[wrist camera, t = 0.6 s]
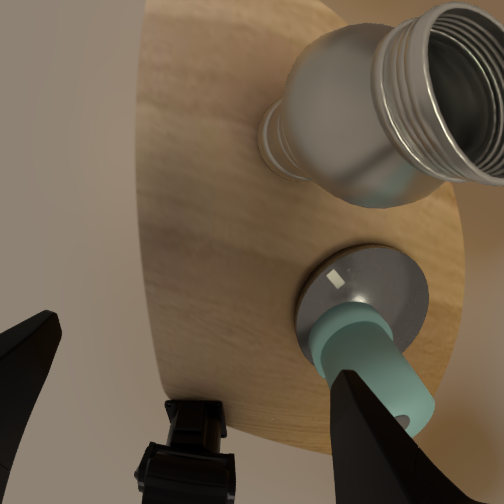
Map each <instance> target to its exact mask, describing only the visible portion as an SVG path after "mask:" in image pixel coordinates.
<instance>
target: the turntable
mask: <svg viewBox="0 0 504 504" xmlns="http://www.w3.org/2000/svg"><path fill="white" fill-rule="evenodd" d="M351 301H358V302H364V303H367V304H369V305H371V306H372V307H374V308H375V309H376V310H377V312H378V313H379V314H380V315H381V317H382V318H383V319H384V320H385V322H386V323H387V324H388V325H389V327H390V329H391V331H392V334H393V342H394V344H395V345H396V346H397V348H398V349H399V350H400V352H401V353H403V352H404V351H405V350H406V349H407V348H408V346H409V345H410V344H411V343H412V342H413V340H414V339H415V337H416V336H417V334H418V333H419V331H420V329H421V327H422V325H423V322H424V320H425V317H426V314H427V309H428V303H429V292H428V285H427V281H426V278H425V276H424V273H423V272H422V270H421V268H420V267H419V266H418V265H417V263H416V262H415V261H414V260H412V259H411V258H410V257H409V256H407V255H406V254H404V253H402V252H401V251H399V250H397V249H394V248H392V247H389V246H383V245H366V246H360V247H356V248H353V249H350V250H348V251H345V252H343V253H341V254H339V255H337V256H335V257H334V258H333V259H331V260H330V261H328V262H327V263H326V264H325V265H323V266H322V267H321V268H320V269H319V270H318V271H317V272H316V273H315V274H314V275H313V277H312V278H311V279H310V281H309V282H308V283H307V285H306V286H305V288H304V290H303V292H302V294H301V296H300V299H299V301H298V304H297V308H296V313H295V331H296V336H297V339H298V343H299V345H300V348H301V350H302V352H303V354H304V355H305V357H306V358H307V359H308V360H309V361H310V362H311V363H312V364H313V365H314V366H315V364H314V361H313V358H312V355H311V352H310V349H309V335H310V332H311V329H312V327H313V325H314V324H315V322H316V321H317V320H318V318H319V317H320V316H321V315H322V314H324V313H325V312H326V311H327V310H329V309H330V308H332V307H334V306H336V305H339V304H341V303H345V302H351Z"/></svg>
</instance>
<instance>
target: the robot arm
mask: <svg viewBox="0 0 504 504" xmlns="http://www.w3.org/2000/svg"><path fill="white" fill-rule="evenodd" d="M61 336H62V330H61V327H60V323H59V319H58V315H57V314H56V313H55V312H52V311H49V310H44V311H42V312H40V313H38V314H36V315H34V316H32V317H31V318H29V319H27V320H25V321H23V322H21V323H19V324H17V325H16V326H14V327H12V328H10V329H8V330H6V331H4V332H2V333H1V334H0V504H2V500H3V496H4V493H5V489H6V485H7V482H8V478H9V475H10V471H11V468H12V465H13V461H14V458H15V455H16V452H17V449H18V447H19V443H20V441H21V438H22V435H23V433H24V430H25V427H26V425H27V422H28V420H29V417H30V415H31V412H32V410H33V407H34V405H35V403H36V400H37V398H38V396H39V393H40V391H41V389H42V386H43V384H44V382H45V380H46V378H47V375H48V373H49V370H50V367H51V364H52V361H53V359H54V356H55V353H56V351H57V348H58V345H59V342H60V340H61ZM169 404H170V405H169ZM217 405H219V406H217ZM165 408H166V411H167V414H168V417H169V420H170V423H171V425H170V430H169V434H168V439H167V444H166V445H161V444H156V443H155V442H150V444H149V446H148V447H147V448H146V450H145V453H144V455H143V458H142V460H141V462H140V465H139V467H138V468H137V469H136V471H135V473H134V477H135V478H136V479H137V481H138V489H139V491H140V492H142V493H143V496H142V504H234V500H235V491H236V473H235V459H234V454H230V453H229V454H223V453H220V440H221V438H226V437H227V430H226V424H225V417H224V410H223V404H222V403H221V402H219V401H176V400H167V401H165ZM330 436H331V447H332V457H333V469H334V481H335V493H336V494H335V495H336V504H487V503H482V502H478V501H475V500H473V499H471V498H469V497H468V496H466V495H465V494H464V493H463V492H462V491H461V490H460V489H459V488H458V487H457V486H456V485H455V484H453V483H452V482H451V481H450V480H449V479H448V478H447V477H446V476H445V475H444V474H443V473H442V472H441V471H440V470H439V469H438V468H437V467H436V466H435V465H434V464H433V463H432V462H431V460H430V459H429V458H428V457H427V456H426V455H425V453H424V452H423V451H422V450H421V449H420V448H418V445H417V444H416V443H415V442H414V440H413V439H412V438H411V437H410V436H409V434H408V433H407V432H406V431H405V430H404V428H403V427H402V426H401V425H400V424H399V422H398V421H397V420H396V419H395V418H394V416H393V415H392V414H391V413H390V412H389V410H388V409H387V408H386V407H385V406H384V404H383V403H382V402H381V401H380V400H379V398H378V397H377V396H376V395H375V394H374V393H373V391H372V390H371V389H370V388H369V387H368V385H367V384H366V383H365V382H364V381H363V379H362V378H361V377H360V376H359V375H358V373H357V372H356V371H355V370H351V369H342V370H341V371H340V372H339V374H338V375H337V377H336V379H335V380H334V382H333V384H332V386H331V390H330Z"/></svg>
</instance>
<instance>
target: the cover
mask: <svg viewBox="0 0 504 504" xmlns="http://www.w3.org/2000/svg"><path fill="white" fill-rule="evenodd" d="M309 349H310V352H311V355H312V358H313V361H314V364H315V367H316V370H317V371H318V373H319V374H320V375H321V376H322V377H323V378H324V379H326V380H327V383H328V385H329V388H330V390H331V386H332V384H333V382H334V380H335V379H336V377H337V375H338V374H339V372H340V371H341V370H342V369H351V370H355V371H356V372H357V373H358V375H359V376H360V377H361V378H362V379H363V381H364V382H365V383H366V384H367V385H368V387H369V388H370V389H371V390H372V391H373V393H374V394H375V395H376V396H377V397H378V398H379V400H380V401H381V402H382V403H383V404H384V406H385V407H386V408H387V409H388V410H389V412H390V413H391V414H392V415H393V416H394V418H395V419H396V420H397V421H398V422H399V424H400V425H401V426H402V427H403V428H404V430H405V431H406V432H407V433H408V434H409V436H410V437H411V438H412V437H413V436H415V435H416V434H417V433H418V432H420V431H421V430H422V428H423V427H424V426H425V425H426V424H427V423H428V421H429V420H430V418H431V416H432V414H433V412H434V408H435V402H434V399H433V397H432V396H431V394H430V393H429V391H428V390H427V388H426V387H425V386H424V384H423V383H422V381H421V380H420V378H419V377H418V376H417V374H416V373H415V371H414V370H413V368H412V367H411V366H410V364H409V363H408V361H407V360H406V359H405V357H404V356H403V355H402V353H401V352H400V350H399V349H398V348H397V346H396V345H395V344H394V342H393V334H392V331H391V329H390V327H389V325H388V324H387V323H386V322H385V320H384V319H383V318H382V317H381V315H380V314H379V313H378V312H377V310H376V309H375V308H374V307H372V306H371V305H369V304H367V303H364V302H358V301H351V302H345V303H341V304H339V305H336V306H334V307H332V308H330V309H329V310H327V311H326V312H325V313H324V314H322V315H321V316H320V317H319V318H318V320H317V321H316V322H315V324H314V325H313V327H312V329H311V332H310V335H309Z"/></svg>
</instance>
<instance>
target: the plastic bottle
mask: <svg viewBox="0 0 504 504" xmlns="http://www.w3.org/2000/svg"><path fill="white" fill-rule="evenodd" d="M258 146H259V150H260V153H261V155H262V158H263V159H264V161H265V162H266V164H267V165H268V166H269V167H270V168H271V169H272V170H273V171H274V172H275V173H277V174H278V175H279V176H281V177H283V178H286V179H288V180H291V181H296V182H311V181H314V182H315V183H317V184H318V185H319V186H321V187H322V188H323V189H325V190H326V191H327V192H329V193H331V194H332V195H334V196H335V197H338V198H340V199H342V200H344V201H346V202H348V203H350V204H354V205H358V206H362V207H366V208H383V209H385V208H390V207H396V206H401V205H405V204H409V203H413V202H415V201H418V200H420V199H422V198H425V197H427V196H428V195H430V194H431V193H433V192H434V191H435V190H437V189H438V188H439V187H440V186H441V185H442V184H443V183H444V182H445V181H448V182H455V183H464V182H476V183H480V184H484V185H490V186H504V26H503V25H502V24H501V23H500V22H499V21H498V20H497V19H495V18H494V17H493V16H492V15H490V14H489V13H487V12H486V11H484V10H482V9H480V8H479V7H477V6H474V5H471V4H468V3H465V2H454V1H453V2H449V3H444V4H441V5H437V6H434V7H433V8H431V9H430V10H429V11H427V12H425V13H424V14H423V15H421V16H419V17H416V18H413V19H410V20H406V21H404V22H402V23H401V24H399V25H398V26H397V27H392V26H388V25H384V24H376V23H362V24H355V25H349V26H346V27H343V28H340V29H337V30H334V31H332V32H329V33H327V34H325V35H322V36H321V37H319V38H318V39H316V40H315V41H314V42H312V43H311V44H310V45H308V46H307V47H306V48H305V50H304V51H303V52H302V53H301V54H300V56H299V57H298V58H297V59H296V61H295V63H294V65H293V67H292V69H291V71H290V73H289V75H288V78H287V81H286V84H285V88H284V92H283V96H282V98H281V99H279V100H277V101H276V102H275V103H273V104H272V105H271V106H270V107H269V108H268V109H267V111H266V112H265V113H264V115H263V117H262V119H261V121H260V124H259V128H258Z"/></svg>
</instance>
